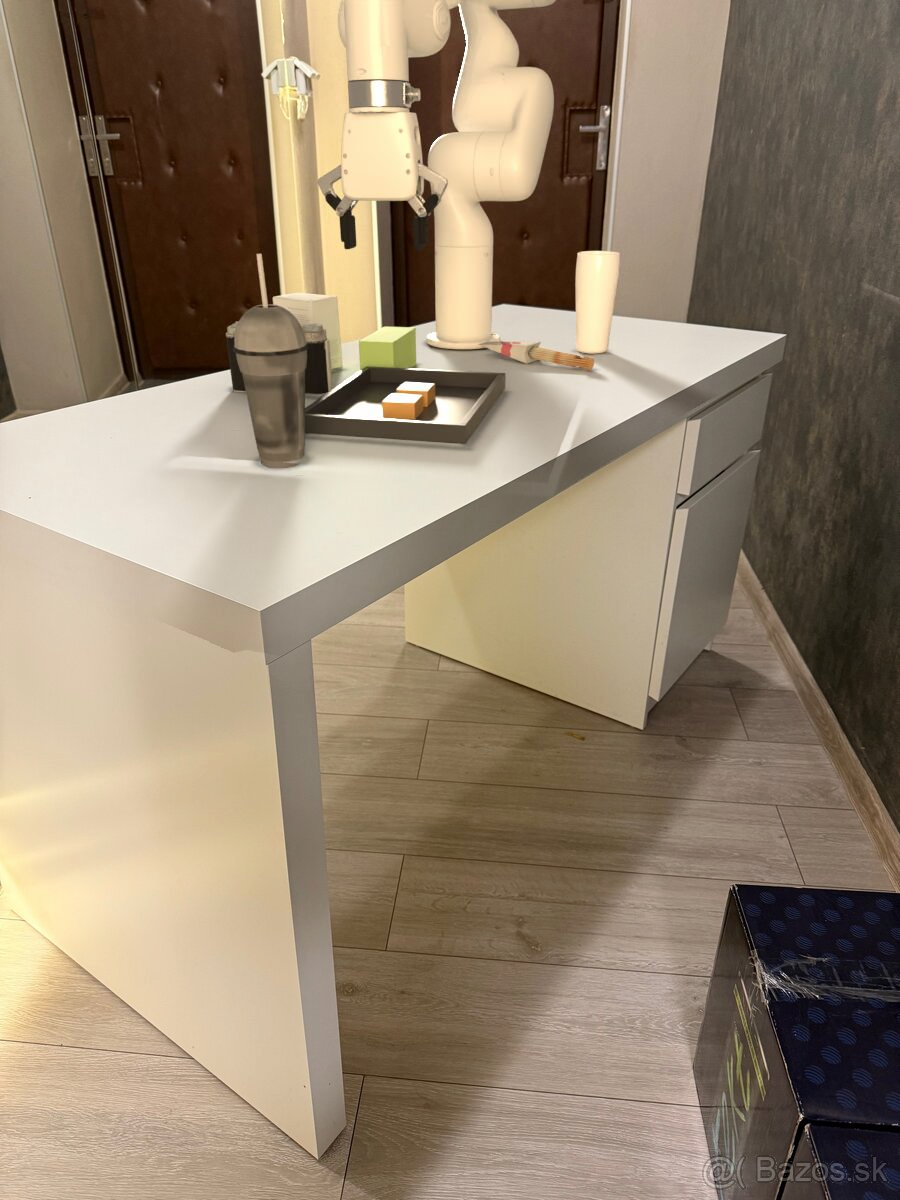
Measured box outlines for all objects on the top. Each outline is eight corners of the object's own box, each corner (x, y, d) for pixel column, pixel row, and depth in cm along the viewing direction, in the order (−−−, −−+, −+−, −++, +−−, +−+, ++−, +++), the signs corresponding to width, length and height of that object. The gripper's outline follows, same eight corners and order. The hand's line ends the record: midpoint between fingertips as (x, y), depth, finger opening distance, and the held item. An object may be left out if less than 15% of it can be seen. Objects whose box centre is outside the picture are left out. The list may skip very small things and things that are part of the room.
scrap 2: (405, 397, 107) (404, 381, 106) (435, 399, 107) (435, 383, 106) (396, 405, 104) (396, 389, 103) (427, 407, 103) (427, 390, 102)
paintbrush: (490, 331, 134) (598, 353, 124) (489, 349, 136) (596, 371, 125) (476, 335, 132) (585, 357, 121) (475, 352, 133) (583, 375, 123)
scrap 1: (392, 409, 102) (391, 393, 101) (423, 411, 101) (423, 394, 101) (382, 417, 99) (381, 401, 98) (414, 419, 98) (414, 403, 97)
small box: (343, 369, 124) (339, 295, 119) (317, 376, 120) (311, 300, 115) (305, 363, 129) (299, 291, 124) (278, 369, 125) (271, 295, 120)
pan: (367, 384, 116) (366, 366, 115) (505, 392, 112) (505, 373, 111) (296, 437, 94) (294, 414, 93) (465, 449, 90) (465, 425, 89)
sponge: (385, 363, 129) (383, 326, 126) (416, 364, 128) (415, 327, 125) (360, 380, 118) (358, 341, 116) (394, 382, 117) (392, 342, 115)
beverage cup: (254, 476, 82) (229, 260, 73) (240, 455, 88) (215, 252, 79) (325, 466, 85) (310, 256, 76) (307, 446, 91) (290, 249, 81)
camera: (215, 396, 111) (204, 318, 106) (241, 384, 116) (232, 310, 111) (315, 404, 106) (308, 324, 102) (337, 392, 112) (332, 315, 107)
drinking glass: (621, 352, 135) (630, 253, 128) (590, 357, 132) (597, 255, 125) (592, 345, 140) (599, 250, 133) (562, 350, 137) (568, 252, 130)
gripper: (453, 100, 104) (453, 247, 113) (323, 103, 108) (333, 245, 116) (439, 97, 98) (441, 253, 106) (302, 99, 101) (313, 250, 109)
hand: (384, 248), depth 111 cm, fingers open, 9 cm apart
